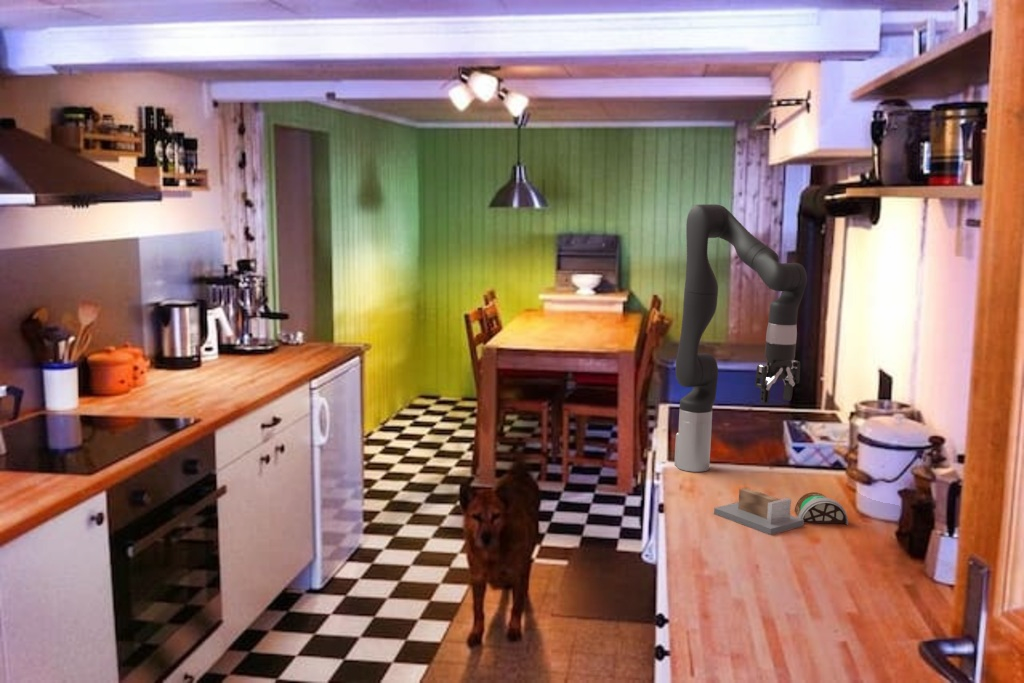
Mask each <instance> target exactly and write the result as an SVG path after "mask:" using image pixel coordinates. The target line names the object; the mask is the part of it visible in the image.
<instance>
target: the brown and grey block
mask: <svg viewBox="0 0 1024 683" xmlns="http://www.w3.org/2000/svg"><path fill="white" fill-rule="evenodd" d="M738 502H739V503H738V509H741V510H743V511H746V512H749V513H752V514H755V515H757V516H760V517H763V518H766V519H767V523H769V524H774V523H777V522H781V521H784V520H788V519H790V515H791V508H792V499H791V498H789V497H785V498H779V497H774V496H773V495H772V496H771V495H769V494H765V493H762V492H760V491H757V490H754V489H751V488H747V487H743V488H739V491H738Z"/></svg>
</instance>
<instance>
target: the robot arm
mask: <svg viewBox="0 0 1024 683" xmlns="http://www.w3.org/2000/svg"><path fill="white" fill-rule="evenodd" d="M685 225H686V234H685V235H686V264H685V266H686V267H685V282H684V288H683V290H684V291H683V301H682V302H683V305H682V306H683V308H682V310H683V311H682V319H681V320H682V321H681V327H680V328H681V329H680V338H679V341H678V348H677V354H676V359H675V360H676V361H675V378H676V380H677V382H678V384H679V385H680V386H681V387H684V388H692V389H691V391H690V392H689V393H687V394H686V395H684V396H682V397H681V399H680V400H679V414H678V415H679V416H678V432H677V433H676V434H675V442H674V443H675V445H674V461H673V462H674V463H673V464H674V466H676V468H677V469H679V470H682V471H685V472H693V473H694V472H695V473H699V472H700V473H701V472H706V471H709V469H710V460H711V459H710V457H711V444H712V443H711V442H712V441H711V440H712V427H713V426H712V423H713V421H712V420H713V408H714V407H713V406H714V403H715V401H716V395H717V387H718V386H717V385H718V378H719V368H718V367H719V366H718V362H717V360H716V358H715V357H714V355H713V354H711V353H707V352H706V353H705V352H702V353H699V347H700V342H701V339H702V336H703V334H704V333H705V331H706V329H707V328H708V326H709V324H710V322H712V319H713V318H714V316H715V313H716V310H717V304H718V296H719V284H718V281H717V278H716V276H715V274H714V271H713V268H712V267H711V264H710V261H709V257H708V256H709V255H708V244H709V239H716V238H719V239H722V240H725V242H728V243H729V244H731V245H732V246H733V247H734V250H735V252H736V255H737V256H738V258H739V260H740V261H741V262H743V263H744V264H745V265H746V266H748V267H749V268H750V269H752V270H753V271H754V272H756V273H757V275H758V277H759V278H760V280H761V281H762V282H763V283H764V284H765V285H766V287H768V288H769V289H771V290H772V291H776V292H781V293H780V296H779V297H778V298H777V299H774V300H772V301H771V302H770V304H769V313H768V323H767V324H768V325H767V328H766V336H765V347H764V349H765V350H764V357H765V359H766V360H767V361H766V364H762V363H761V364H760V363H758V364H757V366H756V371H755V372H756V373H755V382H754V386H755V388H759V389H760V397H759V399H760V403H761V404H764V405H768V404H770V394H771V390H770V389H771V387H772V385H773V384H775V383H776V382H777V381H779V380H782V381H783V384H784V385H783V395H782V396H783V397H782V399H783V400H785V401H791V400H792V398H793V390H794V386H795V385H796V384H799V383H800V381H801V380H800V379H801V376H800V375H801V362H800V361H798V360H795V358H796V348H797V337H798V336H797V335H798V331H797V327H798V326H797V324H798V312H799V311H798V310H799V307H800V304H801V301H802V299H803V297H804V296H803V295H804V293H805V289H806V288H807V287H806V286H807V283H808V275H807V272H806V269H805V267H804V266H803V264H800V263H798V262H787V263H781V262H780V258H779V255H778V253H776V251H775V250H773V249H772V248H770V247H769V246H768V245H766V244H765V243H763V242H762V241H761V240H760V239H758V238H757V237H756V236H754V235H753V234H752V233H751V232H749V231H748V229H747V228H746V227H744V225H743V224H742V223H741V222H740V221H739V219H737V217H735V216H734V214H733V213H732V212H731V211H729V210H728V209H727V208H726V207H725V206H723V205H721V204H715V203H714V204H706V203H705V204H695V205H693V206H692V207H691V208H690V209H689V212H688V213H687V217H686V224H685Z"/></svg>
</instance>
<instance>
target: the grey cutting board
mask: <svg viewBox="0 0 1024 683" xmlns="http://www.w3.org/2000/svg"><path fill="white" fill-rule="evenodd" d="M738 503H739V501H738V502H734V503H729V504H725V505H721V506H717V507H714V509H713V514H714V515H715V516H718V517H721V518H724V519H726V520H730V521H732V522H735V523H738V524H741V525H743V526H745V527H748V528H751V529H753V530H756V531H759V532H762V533H764V534H767V535H770V536H772V535H775V534H778V533H784V532H786V531H790V530H793V529H798V528H801V527H804V526H805V523H804V520H803V519H800V518H798V517H797V516H795V515H792V514H790V519H788V520H784V521H781V522H777V523H774V524H769V523H767V519H766V518H763V517H760V516H757V515H755V514H752V513H749V512H746V511H743V510H741V509H738Z"/></svg>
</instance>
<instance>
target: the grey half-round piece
mask: <svg viewBox="0 0 1024 683" xmlns="http://www.w3.org/2000/svg"><path fill="white" fill-rule="evenodd" d="M794 513H795V514H796V517H797V518H800V519H803V520H804V524H807V523H810V524H811V523H812V524H815V523H817V524H845V525H847V526H848V525H849V519H848V518H849V517H848V514H847V512H846V509H845V507H843V505H841V503H840V502H839V501H837V500H835V499H832V498H829V497H827V496H826V495H824V494H822V493H819V492H817V491H816V492H809V493H805V494H803V495H802V496H801V497H800V498H799V499H798V501H797V502H796V504H795V505H794Z"/></svg>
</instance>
